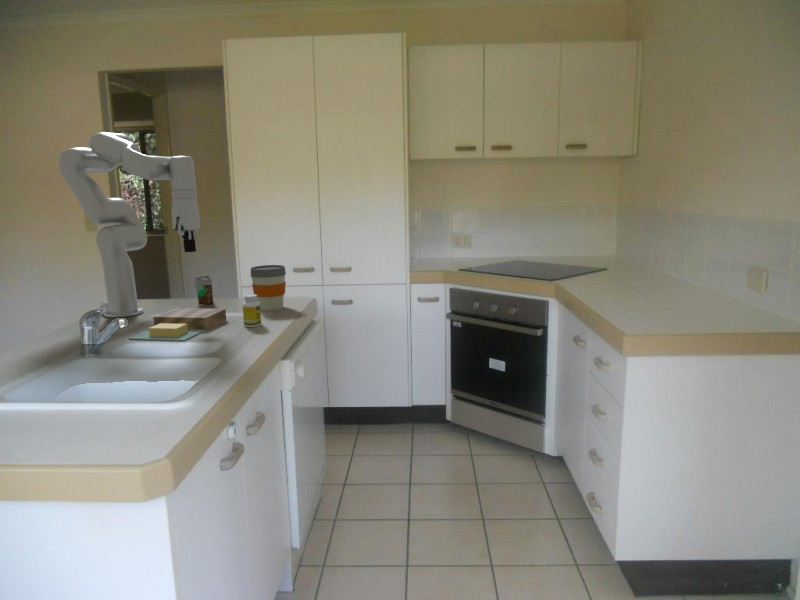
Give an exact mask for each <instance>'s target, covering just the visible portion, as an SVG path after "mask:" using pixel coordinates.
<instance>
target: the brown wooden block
mask: <svg viewBox="0 0 800 600" xmlns="http://www.w3.org/2000/svg"><path fill="white" fill-rule="evenodd" d="M152 319H153V326H155V325H157V324H160V323H171V324H187V328H188V329H205V330H206V331H209V330H210V329H212V328H214V327H217V326H218V325H220V324H222V323H224V322H226V321H227V313H226V308H198V307H197V308H196V307H194V308H192V307H191V308H190V307H189V308H188V307H186V308H183V307H181V308H180V307H176V308H172V309H170V310H166V311H165V312H161V313H160V314H157V315H154V316H153V317H152Z"/></svg>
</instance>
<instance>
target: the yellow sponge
mask: <svg viewBox="0 0 800 600" xmlns="http://www.w3.org/2000/svg"><path fill="white" fill-rule="evenodd" d="M148 330H149V335H150V336H163V337H178V336H180V335H182V334H184V333H186V332H188V328H187V324H171V323H160V324H157V325H155V326H154V325H153V326H151V327H148Z"/></svg>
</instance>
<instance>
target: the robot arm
mask: <svg viewBox="0 0 800 600" xmlns="http://www.w3.org/2000/svg"><path fill="white" fill-rule="evenodd" d="M88 146H89V147H70V148H66V149H64V150H63V151H62V152H61V153H60V154H59V159H58V168H59V172H60V176H61V177H62V179H63V180H64V182H65V183H66V185H67V186H68V187H69V189H70V190H71V191H72V193H73V195H74V196H75V197H76V198H75V199H77V201H78V204H79V205H80V207H81V209H82V211H83V213H84V215H85V216H86V217H87V219H88V221H89V222H90V223H91V224H93V225H94V226H102V227H101V228H100V229H99V230H98V231H97V232H96V234H95V235H96V236H95V242H96V245H97V249H98V251H99V254H100V258H101V262H102V269H103V277H104V283H105V284H104V286H105V293H106V299H107V301H106V302H103V301H102V302H101V303H100V305H99V309H105V311H104V313H103V315H104V317H106V318H126V317H132V316H137V315H140V314H142V313H144V308H143V307H139V304H138V296H137V287H136V280H135V272H134V270H135V269H134V266H133V265H134V264H133V261H132V259H131V257H130V256H129V254H128V253H127V252H132V251H138V250H141V249H143V248H144V247H146V245H147V242H148V234H147V231H146V229H145V227H144V225H143V224H142V222H141V220H140V218H139V216H138V215H137V213H136V211H135V210H134V208H133V206H132V204H130V202H128V200H126V199H124V198H121V197H108V196H106V194H105V192H103V190H102V188H101V186H100V184H98V183H97V181H95V180H94V179H93V178H92V177H91V176H89V175H88V174H106V173H111V171H112V172H113V170H115V169H117V168H118V167H120V166H122V168H123V170H125V171H126V172H127V173H128V174H131V175H133V176H134V177H135V176H136V177H137V178H140V179H143V180H147V181H170V186H171V187H170V188H171V194H172V195H171V196H172V200H171V201H172V202H171V225H172V230H173V231H175V232H177V235H178V236H181V240H183V248H184V252H185V253H194V252H196V251H197V249H196V248H197V247H196V246H197V245H196V238H197V237H196V234H198V233H199V231H200V230H199V229H200V228H201V226H202V225H201V215H200V214H201V213H200V208H199V204H198V192H197V183H196V182H197V180H196V170H195V169H196V168H195V161H194V159H193V158H192V156H189V155H188V156H187V155H186V156H185V155H176V156H175V155H174V156H162V155H161V156H160V155H146V154H143V153H141V149H140V147H139V145H138V144H136V143H135V142H134V141H133V140H132V139H131V138H130V137H129V136H128V135H127V134H124V133H118V132H117V133H115V132H107V131H101V132H100V131H99V132H96V133H94V134H92V135H91V136H90V138H89V141H88ZM103 226H104V227H103Z"/></svg>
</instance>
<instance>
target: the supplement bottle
mask: <svg viewBox="0 0 800 600" xmlns="http://www.w3.org/2000/svg"><path fill="white" fill-rule="evenodd" d="M243 296H244V302H243V303H242V315H243V326H244V327H246V328H254V327H255V328H256V327H259V326H261V325H262V315H261V313H262V312H261V311H262V310H260V303H259V302H258V301H257V295H255V294H254V293H253V294H245V295H243Z"/></svg>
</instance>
